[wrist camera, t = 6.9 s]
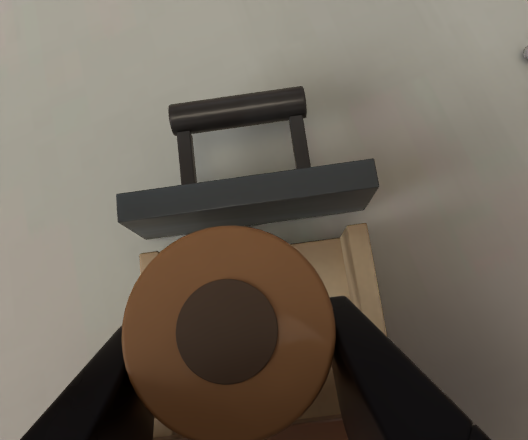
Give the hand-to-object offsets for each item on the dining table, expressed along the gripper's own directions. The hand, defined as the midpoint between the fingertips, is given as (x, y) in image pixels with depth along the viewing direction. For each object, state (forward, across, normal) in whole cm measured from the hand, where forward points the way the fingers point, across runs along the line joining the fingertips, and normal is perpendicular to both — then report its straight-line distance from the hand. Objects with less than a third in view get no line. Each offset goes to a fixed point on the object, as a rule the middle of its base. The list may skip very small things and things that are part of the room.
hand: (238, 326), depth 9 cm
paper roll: (+5, 0, +5) cm, 7 cm away
